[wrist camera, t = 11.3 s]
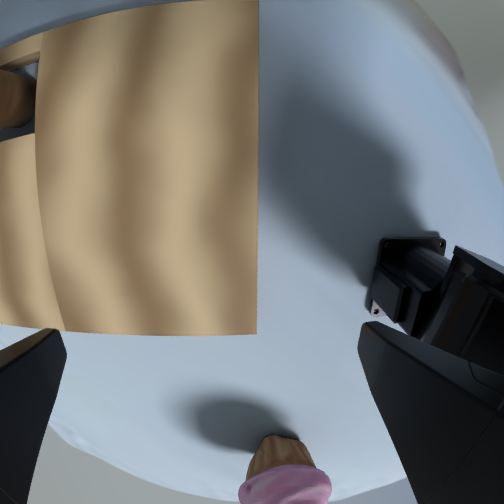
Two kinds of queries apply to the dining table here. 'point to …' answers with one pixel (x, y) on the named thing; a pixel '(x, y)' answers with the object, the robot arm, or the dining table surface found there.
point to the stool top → (136, 175)
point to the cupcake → (284, 475)
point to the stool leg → (16, 99)
